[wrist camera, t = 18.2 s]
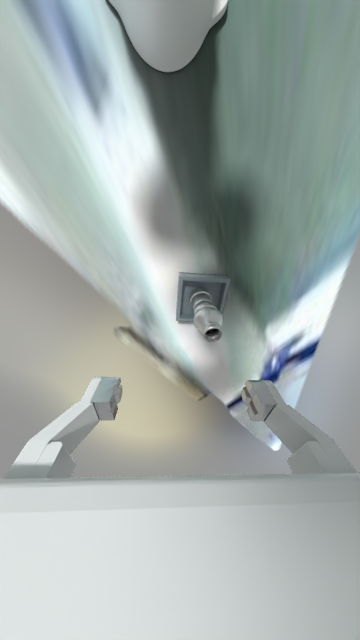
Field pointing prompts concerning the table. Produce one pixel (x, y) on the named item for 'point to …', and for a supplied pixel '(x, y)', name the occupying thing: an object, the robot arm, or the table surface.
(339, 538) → the robot arm
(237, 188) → the table surface
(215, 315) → the plastic bottle
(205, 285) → the box
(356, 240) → the table surface
